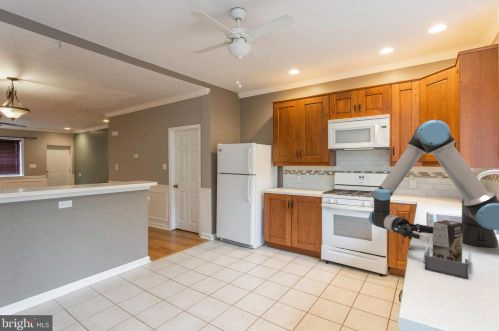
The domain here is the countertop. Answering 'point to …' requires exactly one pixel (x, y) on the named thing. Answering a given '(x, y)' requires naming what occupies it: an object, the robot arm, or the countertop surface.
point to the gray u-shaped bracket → (447, 265)
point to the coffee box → (448, 240)
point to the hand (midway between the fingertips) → (441, 237)
